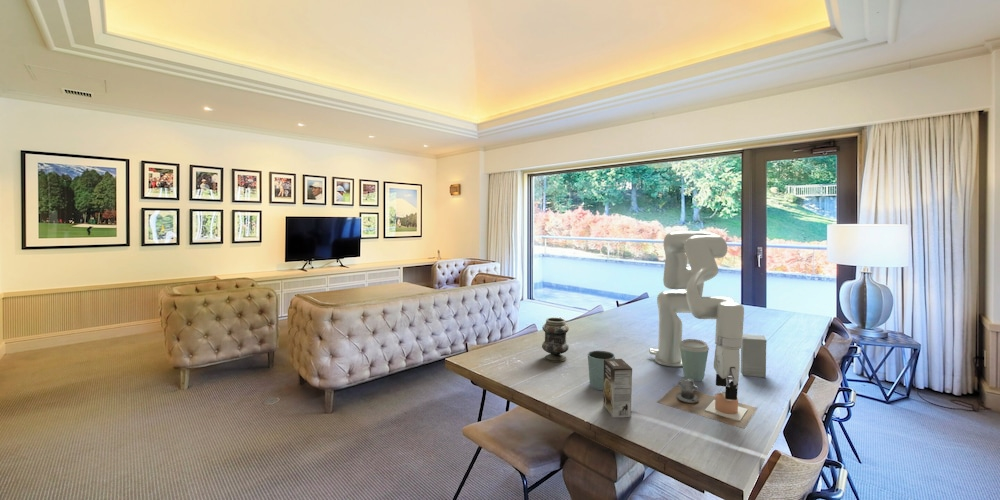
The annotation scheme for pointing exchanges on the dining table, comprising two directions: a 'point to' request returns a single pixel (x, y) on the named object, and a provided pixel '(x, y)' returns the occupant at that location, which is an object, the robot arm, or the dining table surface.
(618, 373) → the coffee box
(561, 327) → the apothecary jar
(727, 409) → the cap
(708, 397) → the board
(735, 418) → the pad
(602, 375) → the teal cup
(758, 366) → the skincare box
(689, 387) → the round metal knob
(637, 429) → the dining table surface
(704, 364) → the disposable coffee cup
